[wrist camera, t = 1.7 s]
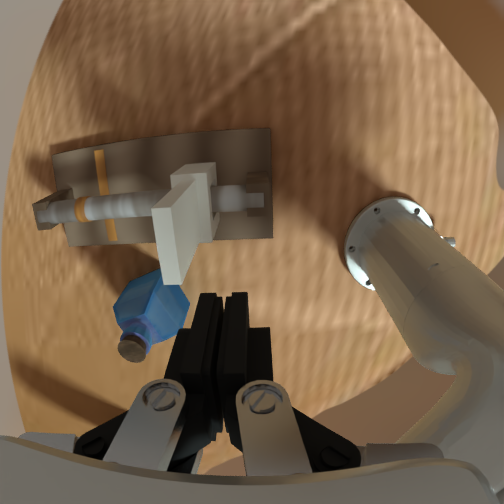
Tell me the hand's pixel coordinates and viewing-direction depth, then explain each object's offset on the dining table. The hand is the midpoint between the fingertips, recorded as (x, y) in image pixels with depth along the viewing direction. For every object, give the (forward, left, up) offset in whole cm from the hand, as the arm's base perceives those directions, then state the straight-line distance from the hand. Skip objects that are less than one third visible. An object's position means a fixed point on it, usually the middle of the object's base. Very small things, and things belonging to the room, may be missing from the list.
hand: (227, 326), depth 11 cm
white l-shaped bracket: (+4, 0, -22) cm, 22 cm away
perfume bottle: (+12, +14, -26) cm, 32 cm away
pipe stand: (+10, 0, -26) cm, 28 cm away
